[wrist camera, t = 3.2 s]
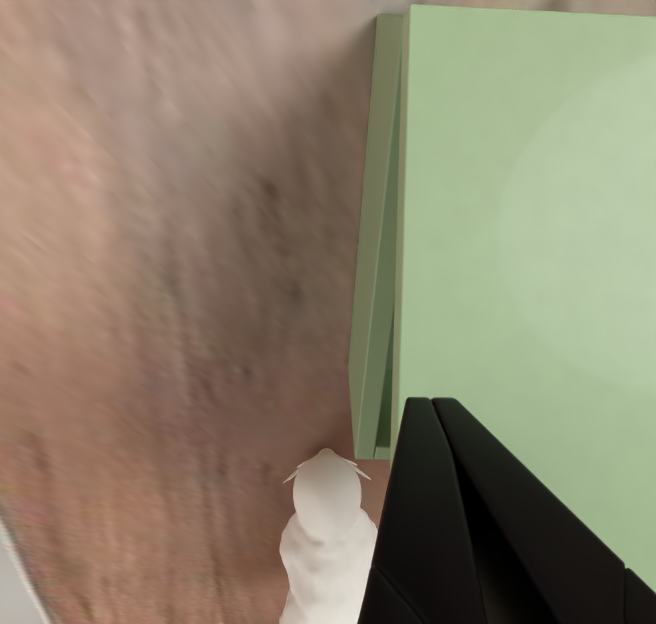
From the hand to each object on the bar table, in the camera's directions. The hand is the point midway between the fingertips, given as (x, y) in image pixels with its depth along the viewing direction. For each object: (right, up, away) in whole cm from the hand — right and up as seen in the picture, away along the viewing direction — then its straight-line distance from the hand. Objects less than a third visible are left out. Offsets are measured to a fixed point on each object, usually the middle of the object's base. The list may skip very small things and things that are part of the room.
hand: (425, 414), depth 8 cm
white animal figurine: (-2, -10, +22) cm, 24 cm away
